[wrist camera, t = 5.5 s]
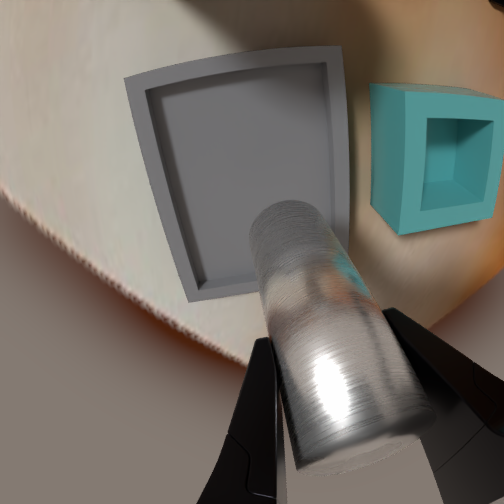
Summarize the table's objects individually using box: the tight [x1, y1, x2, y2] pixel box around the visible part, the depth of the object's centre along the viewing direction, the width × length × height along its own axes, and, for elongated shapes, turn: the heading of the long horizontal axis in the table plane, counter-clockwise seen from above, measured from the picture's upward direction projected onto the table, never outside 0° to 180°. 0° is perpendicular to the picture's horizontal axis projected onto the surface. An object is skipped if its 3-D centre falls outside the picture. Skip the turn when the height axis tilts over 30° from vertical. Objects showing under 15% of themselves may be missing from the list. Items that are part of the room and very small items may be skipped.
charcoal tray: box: [124, 46, 350, 303], centre depth 20 cm, size 12×16×2 cm
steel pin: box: [249, 200, 436, 476], centre depth 10 cm, size 4×4×10 cm
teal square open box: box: [369, 83, 504, 235], centre depth 18 cm, size 9×9×4 cm
